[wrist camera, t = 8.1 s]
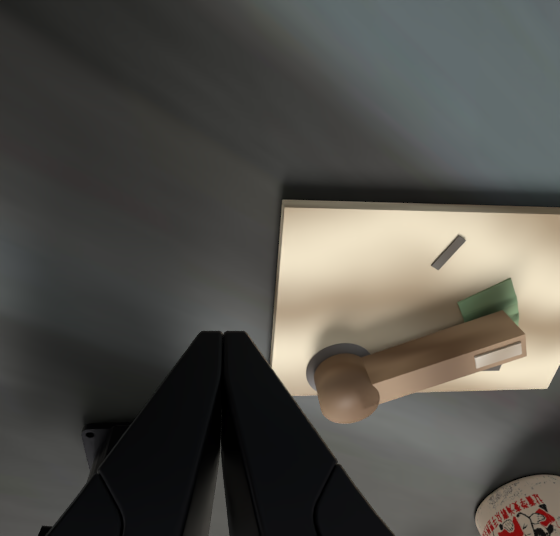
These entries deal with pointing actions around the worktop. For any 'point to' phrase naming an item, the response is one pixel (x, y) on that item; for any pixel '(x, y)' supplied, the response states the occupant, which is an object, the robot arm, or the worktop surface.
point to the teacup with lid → (522, 508)
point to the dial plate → (413, 284)
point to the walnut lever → (415, 366)
